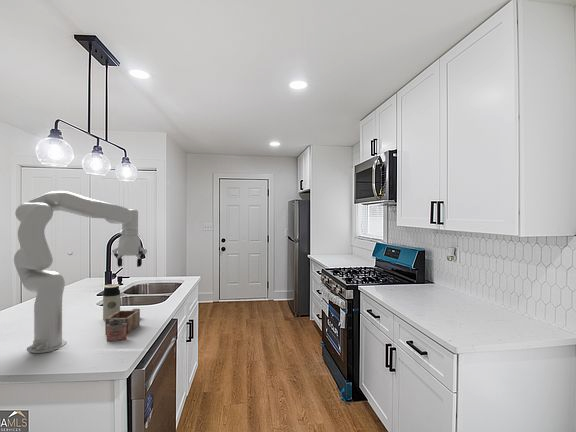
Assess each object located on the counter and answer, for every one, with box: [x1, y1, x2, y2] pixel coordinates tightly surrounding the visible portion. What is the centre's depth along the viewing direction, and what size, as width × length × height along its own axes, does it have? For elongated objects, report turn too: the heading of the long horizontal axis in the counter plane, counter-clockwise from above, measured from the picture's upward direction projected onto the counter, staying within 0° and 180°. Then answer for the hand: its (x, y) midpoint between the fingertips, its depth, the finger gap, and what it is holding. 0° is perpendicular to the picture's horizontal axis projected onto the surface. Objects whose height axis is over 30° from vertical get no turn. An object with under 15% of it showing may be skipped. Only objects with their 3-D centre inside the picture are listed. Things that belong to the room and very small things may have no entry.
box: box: [104, 310, 140, 336], centre depth 161 cm, size 13×10×8 cm
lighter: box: [105, 318, 128, 343], centre depth 148 cm, size 8×3×10 cm, turn 105°
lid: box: [130, 308, 141, 319], centre depth 176 cm, size 14×11×6 cm
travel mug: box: [102, 283, 121, 321], centre depth 178 cm, size 8×8×18 cm
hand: (129, 266), depth 175 cm, fingers open, 9 cm apart
